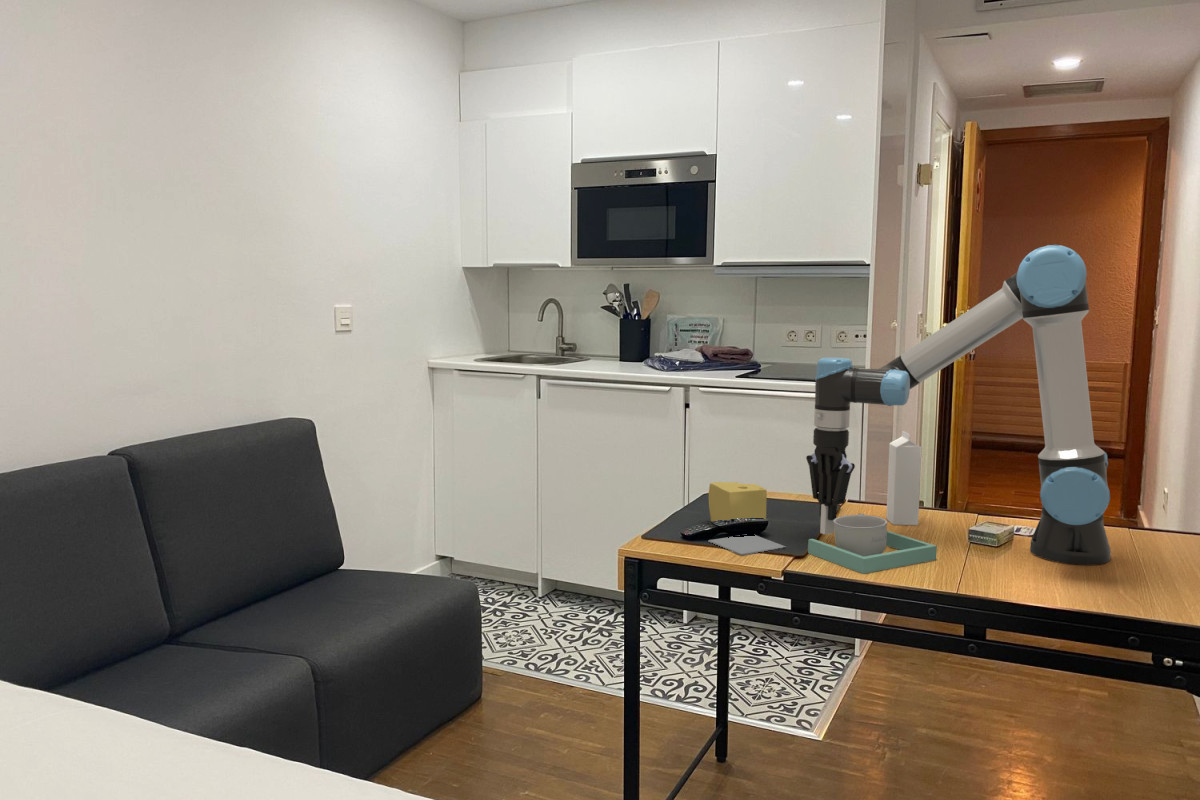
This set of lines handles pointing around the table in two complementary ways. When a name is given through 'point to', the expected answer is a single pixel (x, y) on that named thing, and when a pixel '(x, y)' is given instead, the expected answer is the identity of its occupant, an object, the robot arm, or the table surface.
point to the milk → (903, 481)
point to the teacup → (861, 534)
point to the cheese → (736, 501)
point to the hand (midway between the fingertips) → (827, 532)
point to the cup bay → (906, 554)
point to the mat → (746, 544)
